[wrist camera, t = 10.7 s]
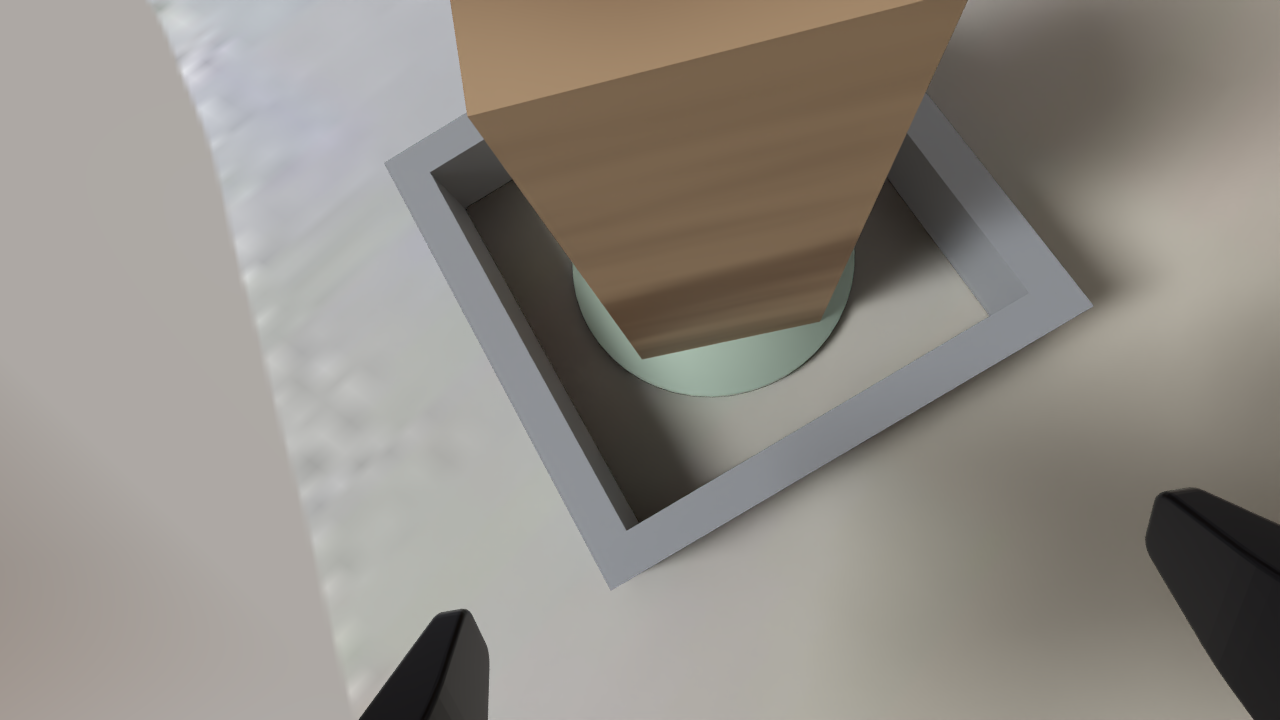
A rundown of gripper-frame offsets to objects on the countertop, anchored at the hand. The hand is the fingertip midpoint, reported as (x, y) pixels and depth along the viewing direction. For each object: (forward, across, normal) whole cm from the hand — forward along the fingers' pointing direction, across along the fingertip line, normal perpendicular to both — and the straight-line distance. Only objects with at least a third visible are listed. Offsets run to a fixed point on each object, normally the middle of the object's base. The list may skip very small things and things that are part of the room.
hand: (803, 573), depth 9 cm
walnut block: (+12, 0, +1) cm, 12 cm away
